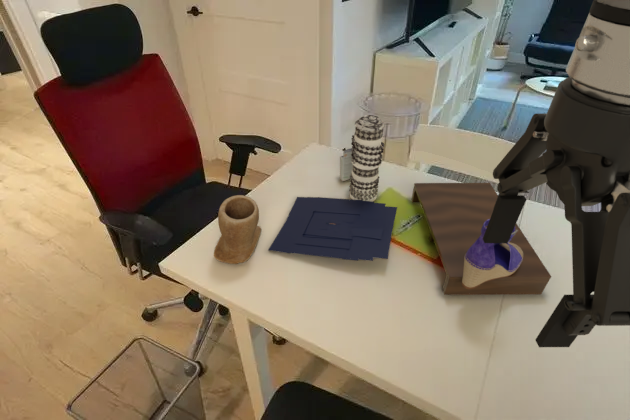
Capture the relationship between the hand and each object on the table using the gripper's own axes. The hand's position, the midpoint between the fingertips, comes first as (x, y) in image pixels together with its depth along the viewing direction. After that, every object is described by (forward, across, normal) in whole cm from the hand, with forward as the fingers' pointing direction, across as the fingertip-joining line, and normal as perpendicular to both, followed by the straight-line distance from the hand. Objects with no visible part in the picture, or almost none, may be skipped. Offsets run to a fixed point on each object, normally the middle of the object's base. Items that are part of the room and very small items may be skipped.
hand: (519, 285), depth 39 cm
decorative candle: (+37, -66, -7) cm, 76 cm away
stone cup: (+37, -44, -40) cm, 70 cm away
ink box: (+37, -77, -8) cm, 86 cm away
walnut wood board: (+37, -46, +18) cm, 62 cm away
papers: (+37, -50, -16) cm, 64 cm away
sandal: (+31, -31, +17) cm, 47 cm away
